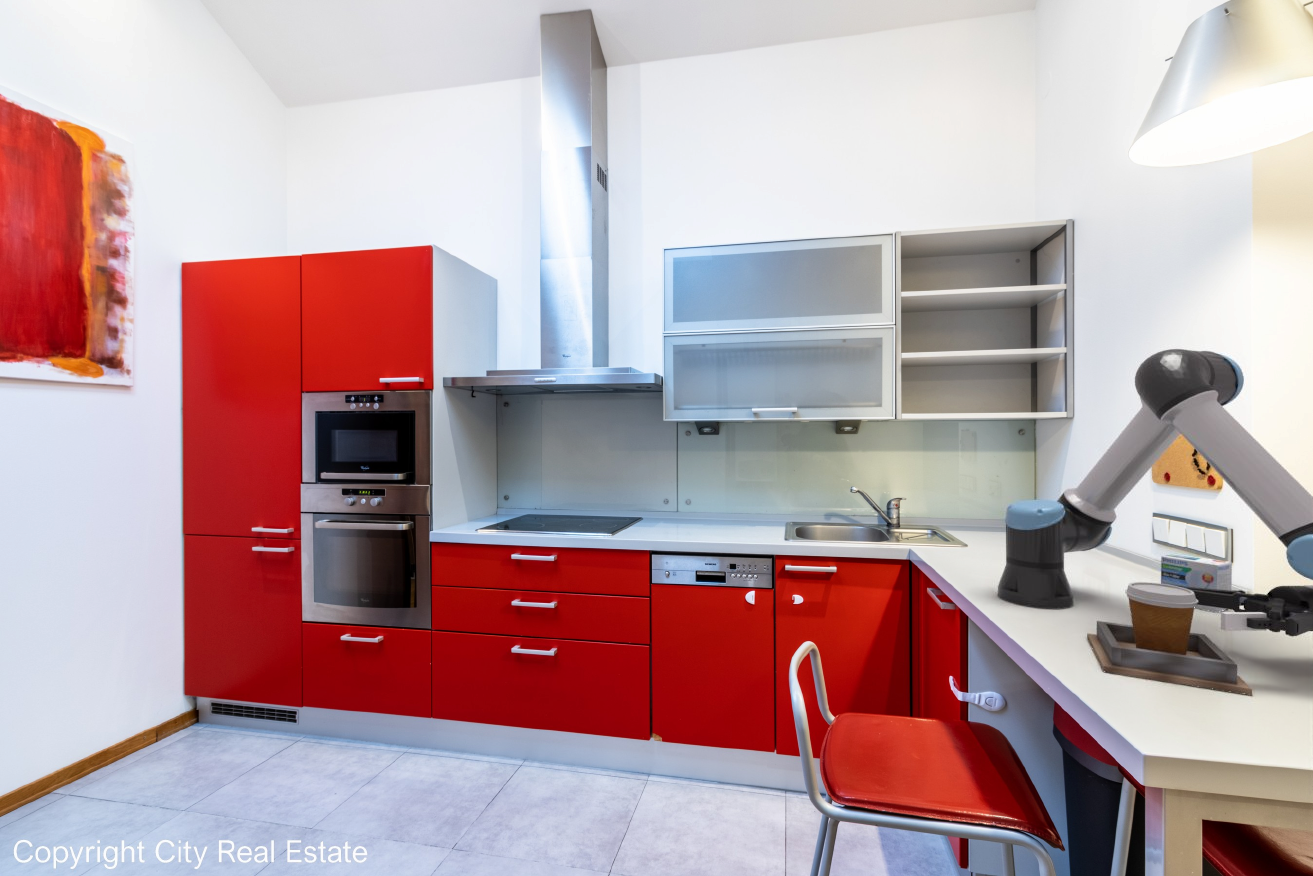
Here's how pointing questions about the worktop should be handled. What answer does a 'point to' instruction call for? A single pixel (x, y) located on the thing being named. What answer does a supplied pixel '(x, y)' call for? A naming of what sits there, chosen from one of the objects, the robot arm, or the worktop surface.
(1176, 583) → the light bulb box
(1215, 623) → the worktop surface
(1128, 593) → the disposable coffee cup
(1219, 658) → the cup holder plate
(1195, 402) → the robot arm
